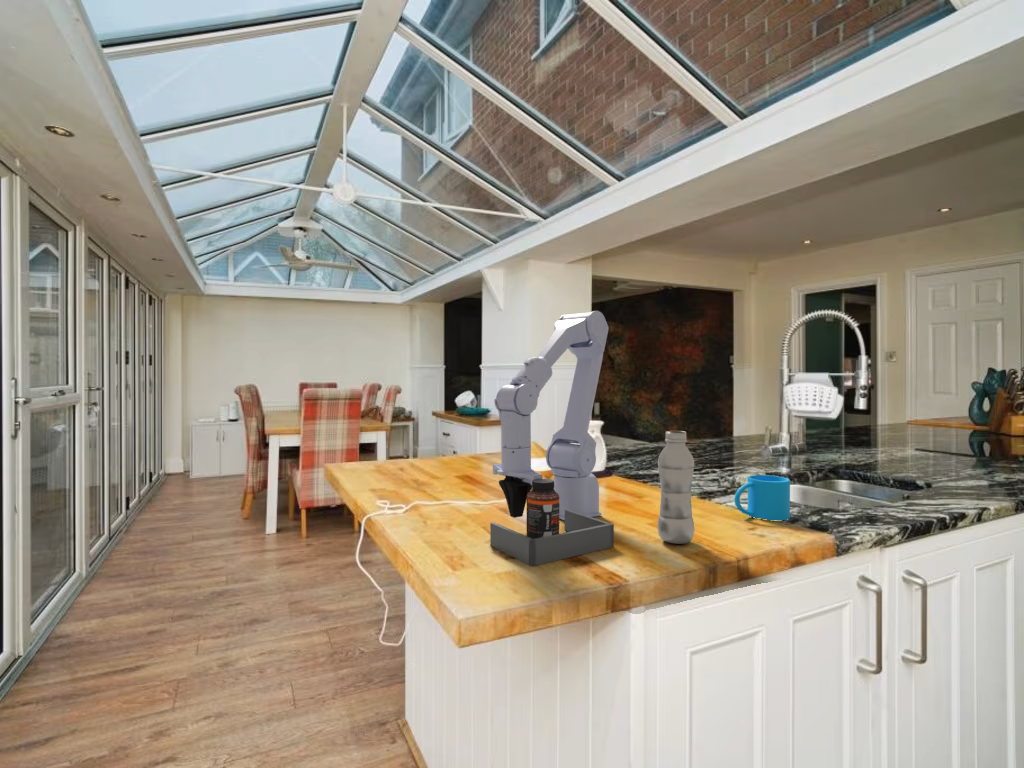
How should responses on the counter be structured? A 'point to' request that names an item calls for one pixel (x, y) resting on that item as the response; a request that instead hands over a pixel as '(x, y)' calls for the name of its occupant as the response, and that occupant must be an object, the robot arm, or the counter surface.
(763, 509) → the mug
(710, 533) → the counter surface
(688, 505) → the plastic bottle
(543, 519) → the supplement bottle
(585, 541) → the box
